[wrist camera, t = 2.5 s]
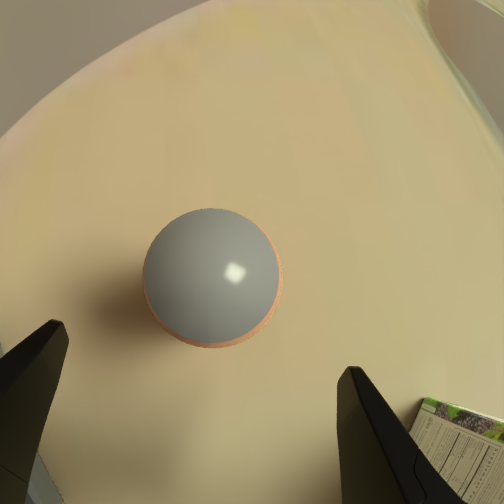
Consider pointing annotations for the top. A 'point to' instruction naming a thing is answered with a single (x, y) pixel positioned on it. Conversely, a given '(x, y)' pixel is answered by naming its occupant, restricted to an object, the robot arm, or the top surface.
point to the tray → (40, 482)
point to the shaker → (212, 278)
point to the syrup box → (463, 449)
